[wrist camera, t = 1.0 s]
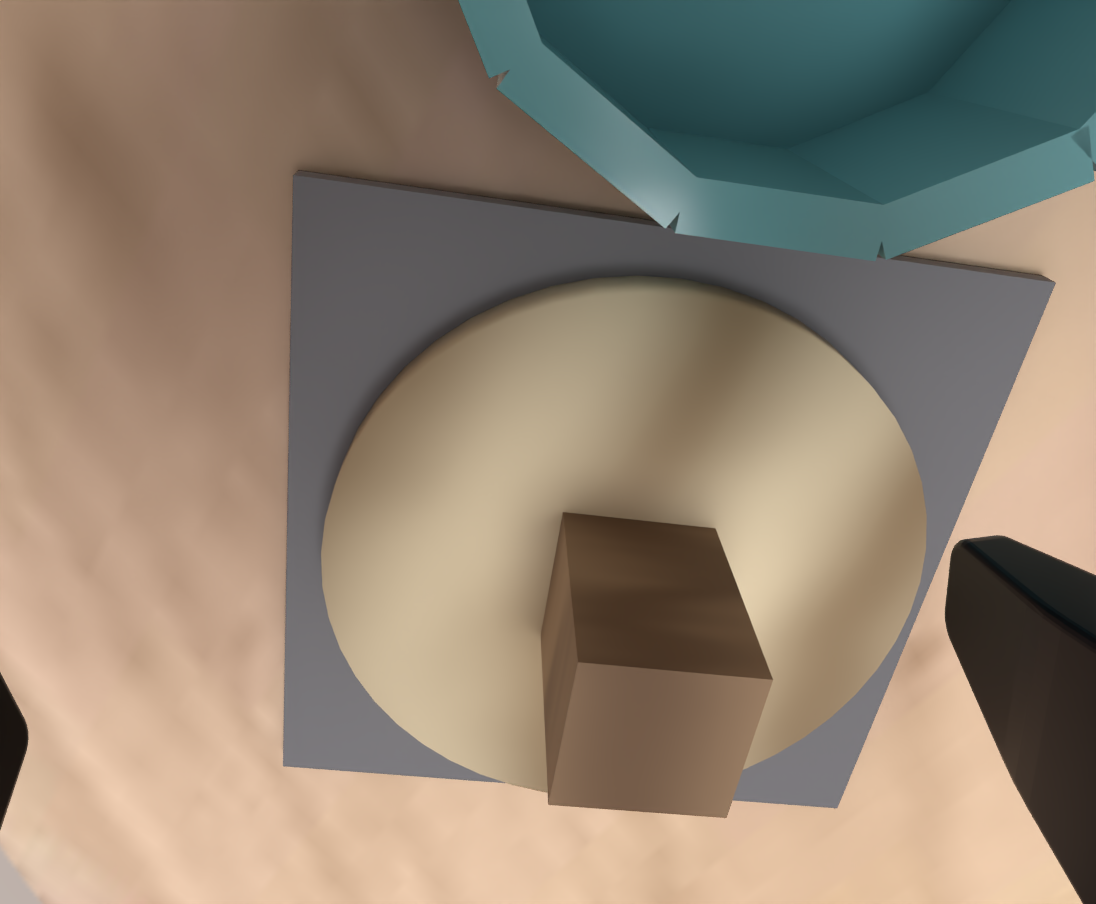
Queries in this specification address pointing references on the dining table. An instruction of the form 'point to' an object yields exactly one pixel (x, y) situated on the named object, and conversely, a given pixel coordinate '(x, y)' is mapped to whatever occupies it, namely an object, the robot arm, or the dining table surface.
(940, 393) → the mat
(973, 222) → the bowl
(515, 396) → the lid
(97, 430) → the dining table surface
